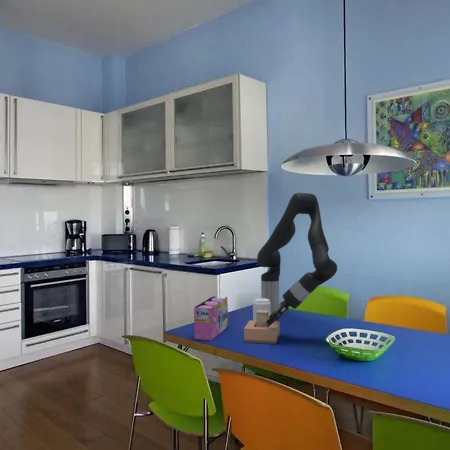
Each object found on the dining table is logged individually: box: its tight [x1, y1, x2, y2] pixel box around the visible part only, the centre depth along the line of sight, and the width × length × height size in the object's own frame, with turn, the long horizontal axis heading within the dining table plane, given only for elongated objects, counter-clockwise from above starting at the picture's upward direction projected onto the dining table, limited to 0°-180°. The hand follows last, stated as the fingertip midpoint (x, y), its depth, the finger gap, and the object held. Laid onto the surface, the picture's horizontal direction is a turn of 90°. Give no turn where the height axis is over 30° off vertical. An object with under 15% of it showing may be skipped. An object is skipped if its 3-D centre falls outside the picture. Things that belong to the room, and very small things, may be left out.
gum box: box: [193, 296, 229, 341], centre depth 188 cm, size 24×8×14 cm, turn 161°
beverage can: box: [252, 297, 271, 321], centre depth 196 cm, size 8×8×12 cm
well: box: [243, 319, 281, 345], centre depth 177 cm, size 13×13×6 cm
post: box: [256, 310, 268, 327], centre depth 177 cm, size 4×4×10 cm
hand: (269, 321), depth 176 cm, fingers open, 8 cm apart
